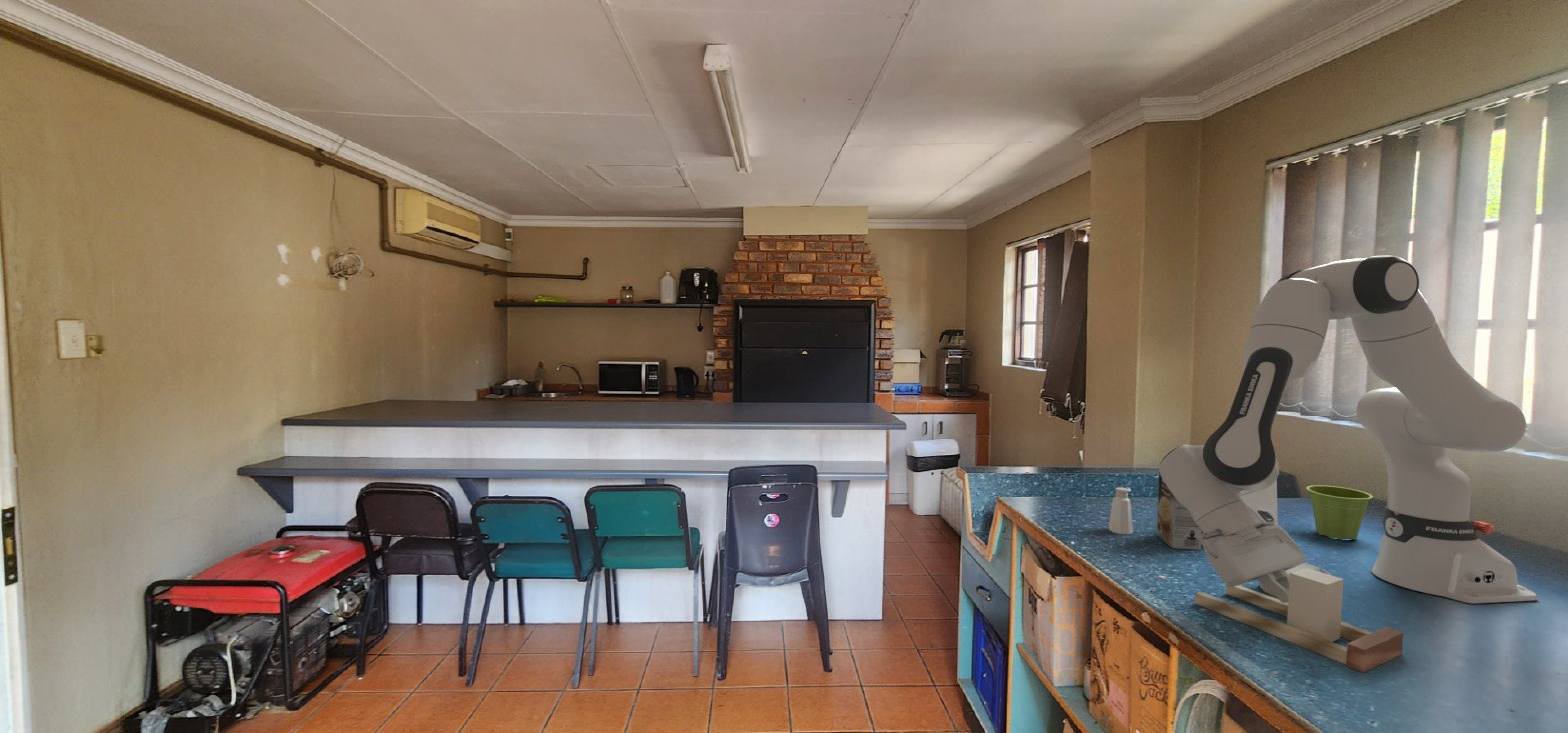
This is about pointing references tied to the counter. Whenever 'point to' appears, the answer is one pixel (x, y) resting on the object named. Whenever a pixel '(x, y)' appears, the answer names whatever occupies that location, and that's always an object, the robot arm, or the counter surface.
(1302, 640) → the keeper track
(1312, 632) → the block
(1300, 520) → the counter surface
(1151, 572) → the counter surface
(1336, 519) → the plant pot
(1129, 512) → the pepper shaker
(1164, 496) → the coffee box
